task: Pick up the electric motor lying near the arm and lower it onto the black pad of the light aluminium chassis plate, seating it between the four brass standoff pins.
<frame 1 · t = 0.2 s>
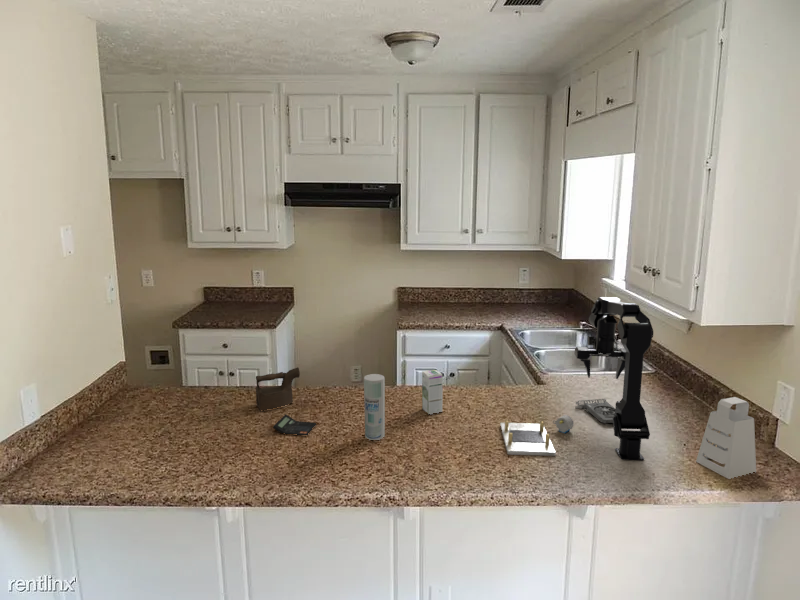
hand: (602, 377, 183), 14 cm above the counter, tool pointing down, fingers open, 9 cm apart
grater: (725, 467, 152), on the counter
spray can: (374, 437, 171), on the counter
graphics card: (600, 417, 188), on the counter
syrup box: (432, 411, 192), on the counter
calculator: (295, 430, 177), on the counter
chassis plate: (526, 440, 169), on the counter
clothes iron: (277, 406, 197), on the counter
electric motor: (563, 432, 175), on the counter
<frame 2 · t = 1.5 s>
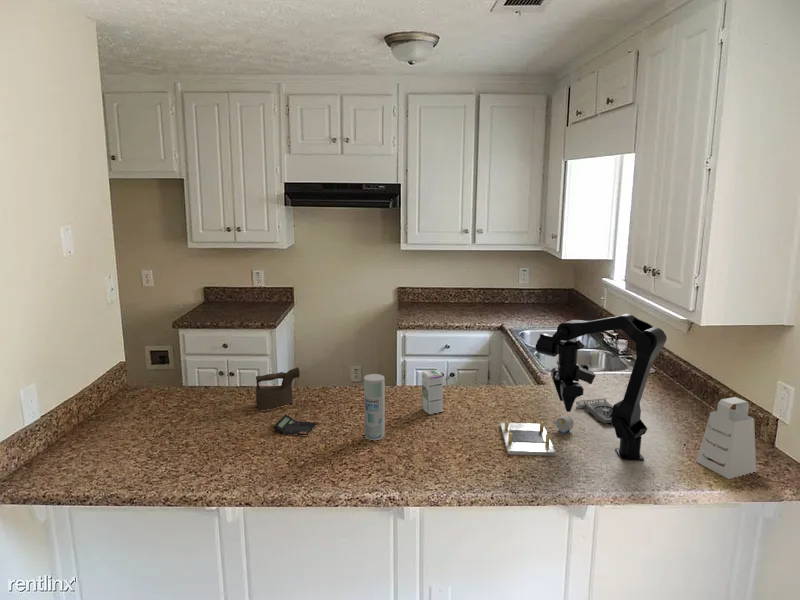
hand: (565, 406, 173), 9 cm above the counter, tool pointing down, fingers open, 9 cm apart
nothing on the counter moved.
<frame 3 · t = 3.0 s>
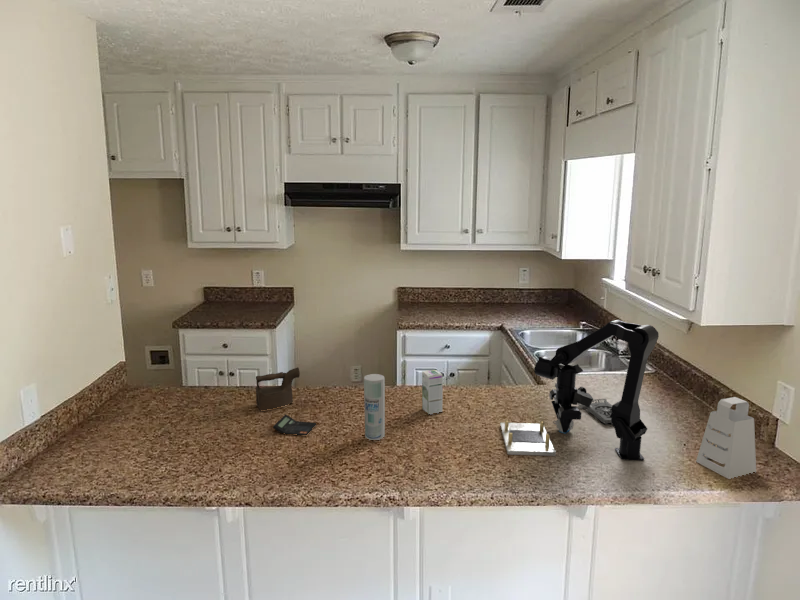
hand: (562, 428, 175), 1 cm above the counter, tool pointing down, fingers closed on electric motor, 5 cm apart
electric motor: (563, 432, 175), on the counter, touching gripper
everything else where it was.
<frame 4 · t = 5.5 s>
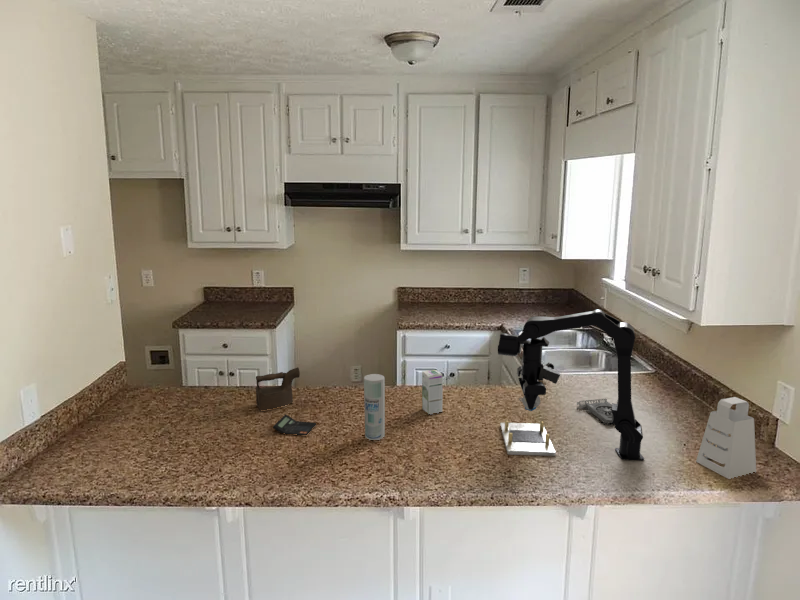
hand: (529, 405, 167), 11 cm above the counter, tool pointing down, fingers closed on electric motor, 5 cm apart
electric motor: (529, 410, 167), point 10 cm above the counter, touching gripper
everything else where it was.
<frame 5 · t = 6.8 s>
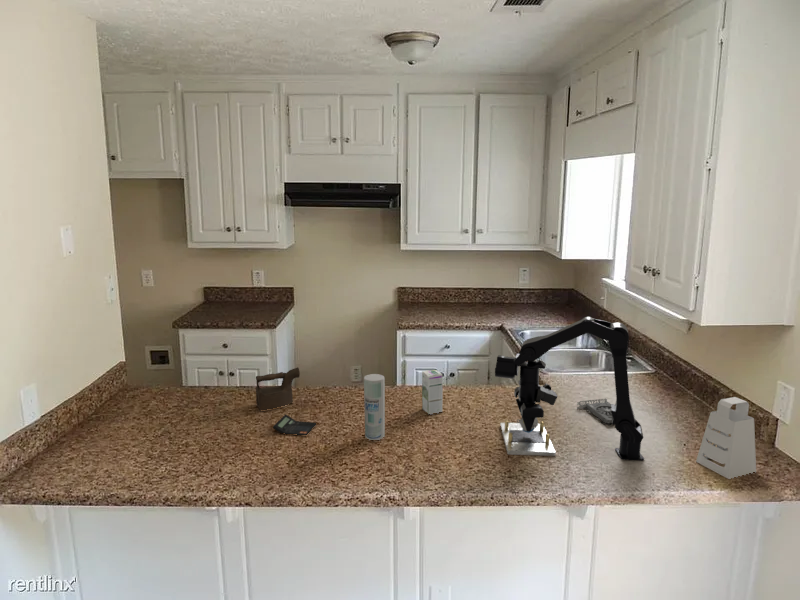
hand: (527, 427, 168), 4 cm above the counter, tool pointing down, fingers closed on electric motor, 5 cm apart
electric motor: (527, 431, 168), point 3 cm above the counter, touching gripper
everything else where it was.
when the fingers open (4 cm above the counter, at t = 7.7 s): electric motor drops 1 cm, resting on chassis plate.
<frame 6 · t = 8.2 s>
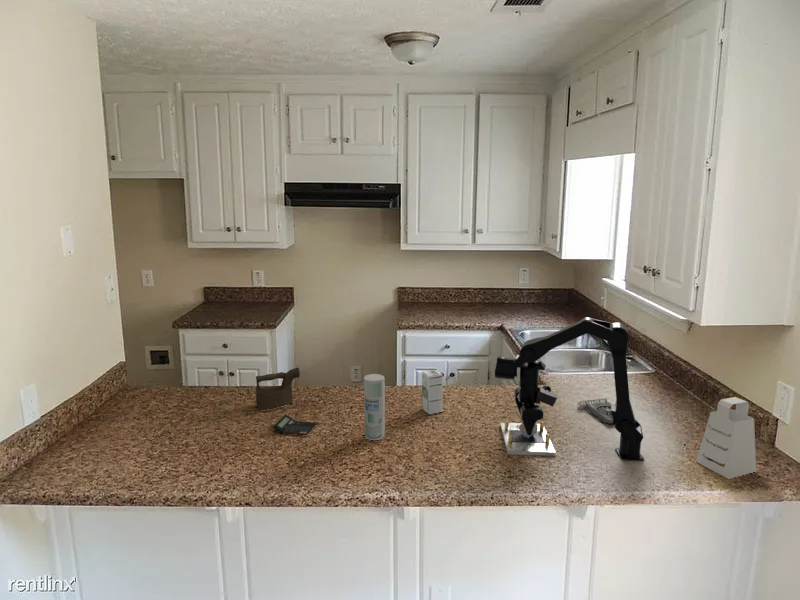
hand: (526, 428, 168), 4 cm above the counter, tool pointing down, fingers open, 9 cm apart
electric motor: (527, 437, 168), point 1 cm above the counter, touching chassis plate
everything else where it was.
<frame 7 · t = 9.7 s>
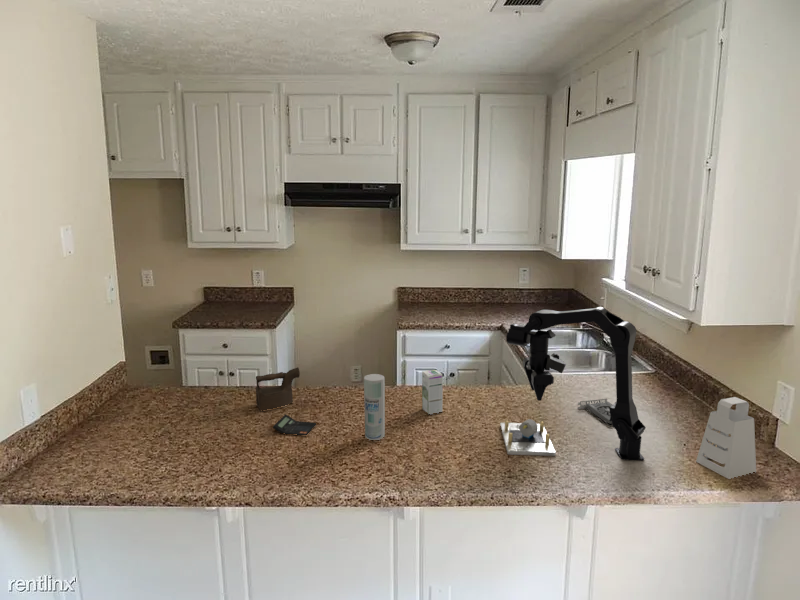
hand: (536, 395, 175), 12 cm above the counter, tool pointing down, fingers open, 9 cm apart
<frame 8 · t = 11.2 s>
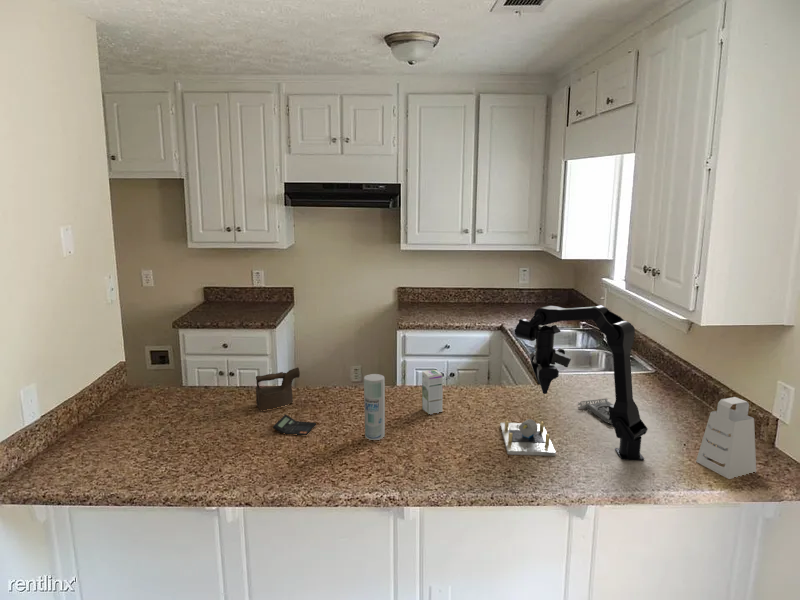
hand: (542, 388, 180), 12 cm above the counter, tool pointing down, fingers open, 9 cm apart
at the end: electric motor 0.6 cm off-centre on the chassis plate, point 1.2 cm above the chassis plate's base; electric motor tilted 0°; the gripper is holding nothing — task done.
